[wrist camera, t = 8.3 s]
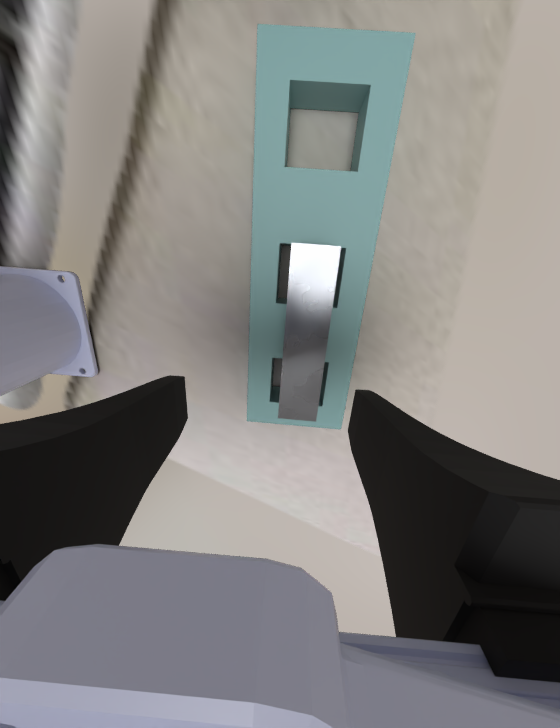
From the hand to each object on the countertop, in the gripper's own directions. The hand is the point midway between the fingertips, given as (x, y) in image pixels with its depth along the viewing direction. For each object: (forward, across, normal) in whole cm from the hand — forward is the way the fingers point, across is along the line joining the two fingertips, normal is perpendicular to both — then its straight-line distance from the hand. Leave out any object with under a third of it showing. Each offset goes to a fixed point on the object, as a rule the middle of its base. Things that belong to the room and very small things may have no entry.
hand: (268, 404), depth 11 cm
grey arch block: (+9, -2, -1) cm, 10 cm away
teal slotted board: (+9, -2, -5) cm, 11 cm away
